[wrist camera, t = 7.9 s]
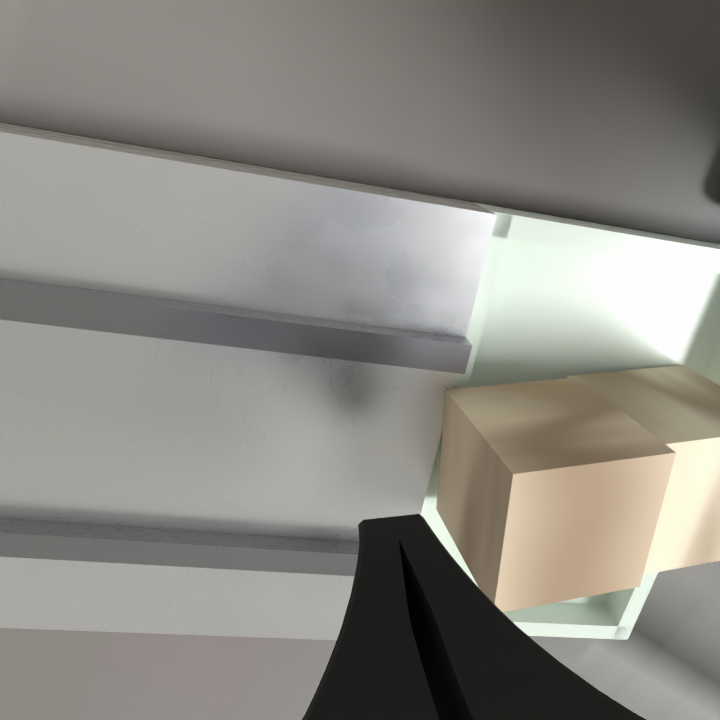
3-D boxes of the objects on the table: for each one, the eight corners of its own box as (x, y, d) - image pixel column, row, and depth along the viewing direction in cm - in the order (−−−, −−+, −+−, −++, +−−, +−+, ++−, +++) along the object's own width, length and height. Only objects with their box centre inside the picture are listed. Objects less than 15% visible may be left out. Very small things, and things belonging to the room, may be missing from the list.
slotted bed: (473, 202, 16) (505, 218, 14) (379, 596, 21) (390, 657, 19) (-143, 98, 14) (-233, 96, 11) (-82, 573, 19) (-134, 640, 17)
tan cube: (578, 376, 17) (676, 452, 13) (557, 492, 19) (639, 587, 15) (445, 389, 16) (513, 474, 13) (436, 509, 18) (493, 614, 14)
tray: (759, 250, 18) (798, 262, 16) (607, 607, 23) (627, 639, 22) (473, 202, 16) (490, 211, 15) (379, 596, 21) (385, 629, 20)
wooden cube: (566, 376, 18) (682, 364, 18) (548, 489, 19) (655, 474, 20) (657, 445, 14) (796, 427, 15) (626, 577, 16) (753, 554, 16)
